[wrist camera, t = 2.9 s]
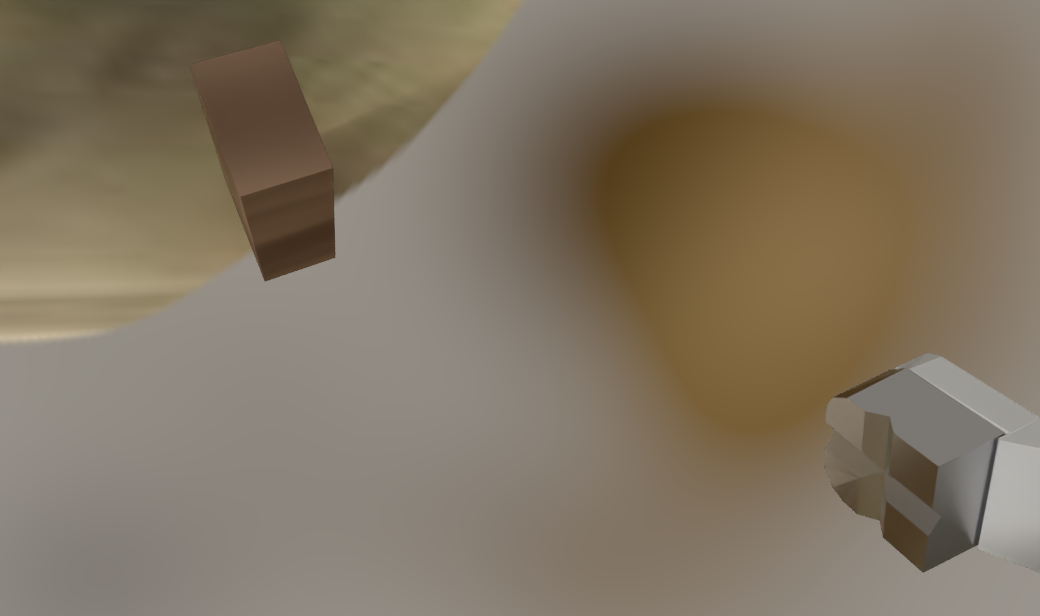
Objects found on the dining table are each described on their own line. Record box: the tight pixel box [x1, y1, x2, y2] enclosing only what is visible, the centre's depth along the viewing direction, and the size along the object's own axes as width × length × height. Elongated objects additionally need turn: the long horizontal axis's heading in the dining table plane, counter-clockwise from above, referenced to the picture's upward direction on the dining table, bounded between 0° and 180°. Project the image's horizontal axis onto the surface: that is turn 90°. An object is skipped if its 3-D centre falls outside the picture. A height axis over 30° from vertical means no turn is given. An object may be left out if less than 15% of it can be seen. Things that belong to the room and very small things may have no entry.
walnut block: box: [189, 40, 335, 281], centre depth 27 cm, size 4×2×8 cm, turn 24°
